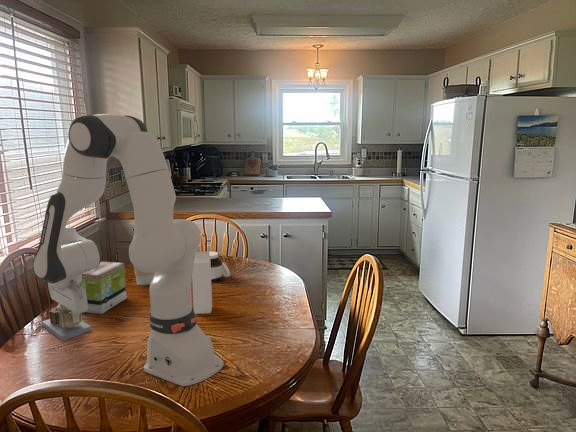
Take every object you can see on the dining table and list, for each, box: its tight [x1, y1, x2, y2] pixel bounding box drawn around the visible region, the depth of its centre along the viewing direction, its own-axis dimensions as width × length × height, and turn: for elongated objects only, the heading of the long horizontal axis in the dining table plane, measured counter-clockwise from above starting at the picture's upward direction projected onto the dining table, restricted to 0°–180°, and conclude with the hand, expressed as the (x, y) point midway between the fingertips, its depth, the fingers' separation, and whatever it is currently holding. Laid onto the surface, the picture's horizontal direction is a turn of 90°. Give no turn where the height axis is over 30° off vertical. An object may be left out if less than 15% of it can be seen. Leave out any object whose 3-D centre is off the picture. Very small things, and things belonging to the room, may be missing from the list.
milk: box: [191, 250, 213, 315], centre depth 149 cm, size 6×6×22 cm
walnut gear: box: [48, 306, 61, 324], centre depth 139 cm, size 6×6×4 cm
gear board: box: [41, 305, 92, 341], centre depth 137 cm, size 16×9×6 cm, turn 50°
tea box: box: [79, 261, 127, 315], centre depth 154 cm, size 15×10×15 cm, turn 168°
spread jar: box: [209, 251, 231, 283], centre depth 183 cm, size 12×11×12 cm
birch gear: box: [59, 309, 83, 327], centre depth 134 cm, size 6×6×4 cm
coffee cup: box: [133, 266, 155, 286], centre depth 178 cm, size 9×9×15 cm
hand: (70, 318), depth 134 cm, fingers closed on birch gear, 6 cm apart
